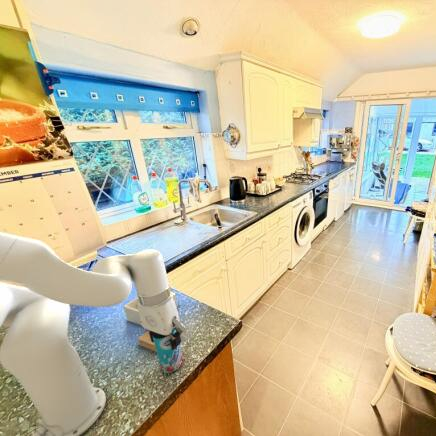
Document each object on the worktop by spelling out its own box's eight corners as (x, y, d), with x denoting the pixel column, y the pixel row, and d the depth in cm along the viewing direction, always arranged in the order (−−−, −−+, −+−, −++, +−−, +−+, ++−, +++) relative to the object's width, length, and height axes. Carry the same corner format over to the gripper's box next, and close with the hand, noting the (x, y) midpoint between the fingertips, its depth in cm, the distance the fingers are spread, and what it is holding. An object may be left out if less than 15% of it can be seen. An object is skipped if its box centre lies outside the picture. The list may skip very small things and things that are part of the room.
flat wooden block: (158, 352, 78) (156, 345, 77) (139, 345, 80) (137, 338, 79) (180, 329, 87) (179, 323, 85) (163, 323, 89) (161, 317, 88)
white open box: (152, 329, 87) (148, 315, 84) (127, 320, 90) (123, 306, 88) (178, 306, 98) (175, 293, 95) (154, 299, 101) (151, 286, 99)
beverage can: (165, 378, 70) (155, 341, 64) (159, 365, 74) (149, 329, 68) (185, 365, 74) (178, 329, 68) (178, 353, 78) (170, 318, 72)
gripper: (118, 295, 63) (133, 344, 69) (169, 311, 58) (180, 362, 64) (142, 279, 69) (154, 325, 76) (190, 292, 64) (199, 340, 71)
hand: (166, 341), depth 70 cm, fingers open, 6 cm apart
